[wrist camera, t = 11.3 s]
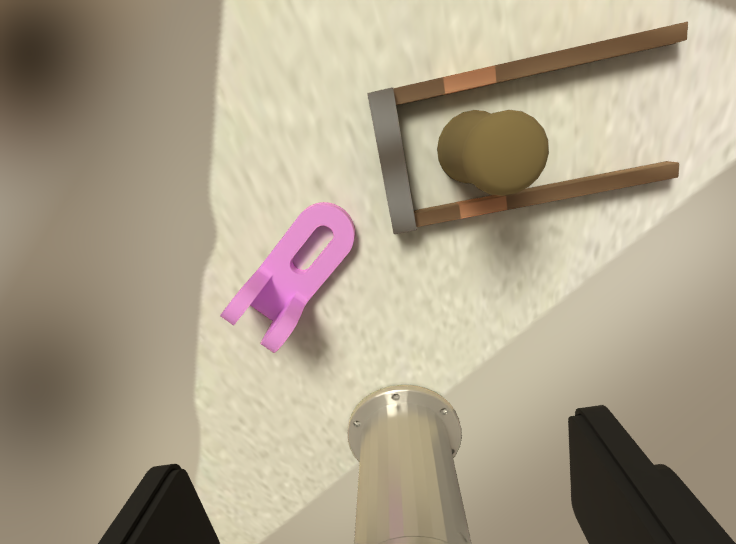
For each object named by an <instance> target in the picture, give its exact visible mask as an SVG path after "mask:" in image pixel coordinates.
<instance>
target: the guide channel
mask: <svg viewBox="0 0 736 544" xmlns="http://www.w3.org/2000/svg"><path fill="white" fill-rule="evenodd" d="M687 30H688V22H684V23H679V24H675V25H671V26H666V27H662V28H657V29H653V30H649V31H644V32H640V33H635V34H631V35H627V36H622V37H618V38H613V39H609V40H605V41H600V42H596V43H591V44H587V45H583V46H578V47H574V48H570V49H565V50H561V51H556V52H552V53H548V54H543V55H539V56H534V57H530V58H526V59H521V60H517V61H512V62H508V63H504V64H499V65H495V66H490V67H486V68H482V69H477V70H473V71H468V72H464V73H460V74H455V75H451V76H446V77H442V78H438V79H433V80H429V81H424V82H420V83H416V84H411V85H407V86H402V87H398V88H394V89H393V88H388V89H384V90H379V91H375V92H371V93H367V94H368V99H369V104H370V110H371V115H372V120H373V126H374V131H375V136H376V142H377V147H378V152H379V158H380V163H381V169H382V174H383V179H384V185H385V190H386V195H387V201H388V206H389V211H390V217H391V222H392V227H393V233H394V234H398V233H403V232H409V231H414V230H417V229H416V227H420V226H425V225H430V224H435V223H441V222H446V221H451V220H456V219H462V218H467V217H472V216H478V215H483V214H488V213H493V212H499V211H504V210H509V209H514V208H520V207H525V206H530V205H535V204H541V203H546V202H551V201H556V200H562V199H567V198H572V197H577V196H583V195H588V194H593V193H598V192H604V191H609V190H614V189H620V188H625V187H630V186H635V185H641V184H646V183H651V182H656V181H662V180H667V179H672V178H677V177H678V175H679V163H678V162H669V161H666V162H660V163H655V164H650V165H645V166H640V167H635V168H630V169H624V170H619V171H614V172H609V173H604V174H599V175H594V176H588V177H583V178H578V179H573V180H568V181H563V182H558V183H552V184H547V185H542V186H537V187H532V188H527V189H523V190H522V191H520V192H518V193H515V194H509V195H504V196H499V195H491V196H486V197H481V198H475V199H470V200H465V201H460V202H455V203H450V204H445V205H439V206H434V207H429V208H424V209H419V210H414V211H413V205H412V199H411V193H410V187H409V181H408V175H407V169H406V163H405V157H404V151H403V145H402V139H401V133H400V127H399V121H398V115H397V109H396V106H397V105H401V104H406V103H410V102H415V101H419V100H424V99H428V98H433V97H437V96H442V95H446V94H451V93H455V92H460V91H464V90H469V89H473V88H478V87H482V86H487V85H491V84H496V83H500V82H505V81H509V80H514V79H518V78H523V77H527V76H532V75H536V74H541V73H545V72H550V71H554V70H558V69H563V68H567V67H572V66H576V65H581V64H585V63H590V62H594V61H599V60H603V59H608V58H612V57H617V56H621V55H626V54H630V53H635V52H639V51H644V50H648V49H653V48H657V47H662V46H666V45H671V44H675V43H678V42H681V41H685V40H687Z"/></svg>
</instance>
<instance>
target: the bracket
mask: <svg viewBox="0 0 736 544" xmlns="http://www.w3.org/2000/svg"><path fill="white" fill-rule="evenodd" d="M319 226H327V227H329V228H330V229H331V230H332V231H333V234H334V237H333V239H332V240H331V241H330V243H329V244H328V245H327V246H326V248H325V249H324V250H323V251H322V253H321V254H320V255H319V256H318V257H317V259H316V260H315V261H314V262H313V264H312V265H311V266H310V267H309V268H308V269H306V270H300V269H298V268H296V267H295V266H294V264H293V257H294V255H295V254H296V253H297V252H298V250H299V249H300V248H301V247H302V245H303V244H304V243H305V241H306V240H307V239H308V238H309V236H310V235H311V234H312V233H313V231H314V230H315V229H316V228H317V227H319ZM354 237H355V228H354V224H353V221H352V219H351V217H350V216H349V214H348V213H347V212H346V211H345V210H344V209H342V208H341V207H339V206H337V205H335V204H332V203H326V202H322V203H316V204H313V205H311V206H309V207H308V208H306V209H305V210H304V211H303V212H302V213H301V214H300V215H299V216H298V218H297V219H296V220H295V222H294V223H293V224H292V226H291V227H290V228H289V229H288V231H287V232H286V233H285V235H284V236H283V237H282V239H281V240H280V241H279V243H278V244H277V245H276V246H275V248H274V249H273V250H272V252H271V253H270V254H269V256H268V257H267V258H266V260H265V261H264V262H263V263H262V265H261V266H260V267H259V269H258V270H257V271H256V272H255V273H254V274H253V275H252V277H251V278H250V279H249V280H248V281H247V282H246V283H245V284H244V286H243V287H242V288H241V289H240V290H239V292H238V293H237V294H236V295H235V297H234V298H233V299H232V300H231V302H230V303H229V304H228V306H227V307H226V308H225V310H224V311H223V312H222V314H221V315H220V316H221V317H222V318H224V319H225V320H227V321H228V322H229V323H231V324H232V325H235V323H236V322H237V321H238V320H239V318H240V317H241V316H242V314H243V313H244V312H245V311H246V309H247V308H248V307H249V305H250V306H252V307H253V308H255V309H256V310H258V311H259V312H260V313H262V314H263V315H265V316H266V317H267V318H269V319H270V320H272V321H273V322H272V323H271V325H270V327H269V329H268V330H267V332H266V334H265V336H264V338H263V339H262V341H261V343H260V344H261V345H263V346H264V347H266V348H267V349H269V350H270V351H272V352H273V353H275V352H276V351H277V350H278V349H279V348H280V347H281V346H282V345H283V343H284V342H285V341H286V340H287V338H288V337H289V336H290V334H291V333H292V331H293V330H294V328H295V326H296V325H297V323H298V321H299V319H300V316H301V314H302V312H303V309H304V307H305V305H306V303H307V302H308V301H309V299H310V298H311V297H312V296H313V295H314V293H315V292H316V291H317V290H318V289H319V287H320V286H321V285H322V284H323V283H324V282H325V280H326V279H327V278H328V277H329V276H330V274H331V273H332V272H333V271H334V270H335V268H336V267H337V266H338V265H339V264H340V263H341V261H342V260H343V259H344V258H345V257H346V255H347V254H348V253H349V252H350V250H351V248H352V245H353V242H354Z"/></svg>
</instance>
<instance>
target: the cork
mask: <svg viewBox="0 0 736 544" xmlns="http://www.w3.org/2000/svg"><path fill="white" fill-rule="evenodd" d="M437 152H438V160H439V162H440V164H441V166H442V169H443V170H444V171H445V172H446V173H447V174H448V175H449V176H450V177H451V178H452V179H454V180H457V181H459V182H462V183H470V184H474V185H475V186H476V187H477V188H478V189H480V190H482V191H484V192H486V193H488V194H491V195H499V196H504V195H509V194H515V193H518V192H520V191H522V190H523V189H525V188H527V187H529V186H530V185H531V184H532V183H533V182H534V181H535V180H536V179H538V177H539V176H540V174H541V172H542V171H543V169H544V168H545V165H546V162H547V158H548V154H549V148H548V139H547V136H546V133H545V131H544V128H543V127H542V126H541V125H540V124H539V123H538V122H537V120H536V119H535V118H533V117H531V116H530V115H528V114H526V113H524V112H522V111H514V110H506V111H501V112H496V113H492V114H490V113H488V112H486V111H479V110H472V111H467V112H463V113H461V114H459V115H458V116H456V117H454V118H453V119H452V120H451V121H450V122H449V123H448V124H447V125H446V126H445V127H444V129H443V131H442V133H441V135H440V137H439V142H438V147H437Z"/></svg>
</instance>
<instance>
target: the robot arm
mask: <svg viewBox="0 0 736 544" xmlns="http://www.w3.org/2000/svg"><path fill="white" fill-rule="evenodd" d="M568 420H569V421H568V423H569V424H568V425H569V450H570V475H571V476H570V477H571V501H572V507H573V510H574V513H575V516H576V519H577V520H578V523H579V525H580V527H581V529H582V531H583V533H584V535H585V537H586V539H587V541H588V543H589V544H736V543H735V542H734V541H733V540H732V539H731V538H730V537H729V535H728V534H727V533H726V532H725V530H724V529H723V528H722V527H721V526H720V525H719V523H718V522H717V521H716V520H715V519H714V518H713V516H712V515H711V514H710V513H709V512H708V511H707V509H706V508H705V507H704V506H703V505H702V504H701V503H700V501H699V500H698V499H697V498H696V497H695V495H694V494H693V493H692V492H691V491H690V490H689V488H688V487H687V486H686V485H685V484H684V483H683V481H682V480H681V479H680V478H679V477H678V476H677V474H675V472H673V471H672V470H671V469H670V468H669V467H667V466H666V465H663V464H658V465H653V463H652V462H651V461H650V460H649V459H648V457H647V456H646V455H645V454H644V452H643V451H642V450H641V449H640V448H639V446H638V445H637V444H636V443H635V441H634V440H633V439H632V438H631V436H630V435H629V434H628V433H627V431H626V430H625V429H624V428H623V426H622V425H621V424H620V423H619V422H618V420H617V419H616V418H615V417H614V415H613V414H612V413H611V412H610V410H609V409H608V408H607V407H606V406H604V405H599V406H592V407H585V408H578V409H576V411H575V416H570V417H569V419H568ZM461 433H462V432H461V426H460V422H459V418H458V416H457V414H456V411H455V410H454V409H453V407H452V406H451V405H450V403H449V402H447V400H445V399H444V398H443V397H442V396H440V395H439V394H437V393H435V392H434V391H431V390H429V389H426V388H423V387H418V386H414V385H397V386H390V387H386V388H383V389H380V390H378V391H375V392H373V393H371V394H370V395H368V396H367V397H366V398H364V399H363V400H362V401H361V402H360V403H359V404H358V405H357V406H356V408H355V409H354V411H353V413H352V414H351V417H350V420H349V426H348V443H349V446H350V449H351V451H352V453H353V455H354V457H355V458H356V459H357V460H358V461H359V463H360V464H359V479H358V494H357V508H356V523H355V538H354V544H471V540H470V534H469V530H468V525H467V521H466V516H465V511H464V507H463V502H462V497H461V493H460V488H459V484H458V479H457V474H456V470H455V465H454V460H453V458H454V457H455V455H456V454H457V451H458V450H459V447H460V444H461V439H462V435H461ZM98 544H220V542H219V540H218V537H217V535H216V533H215V531H214V529H213V527H212V525H211V522H210V520H209V518H208V516H207V514H206V512H205V510H204V508H203V505H202V503H201V501H200V499H199V497H198V495H197V493H196V491H195V488H194V486H193V484H192V482H191V480H190V478H189V476H188V473H187V472H186V470H184V469H181V467H180V466H179V465H177V464H170V465H162V466H156V467H152V468H151V469H150V470H149V471H148V472H147V473H146V474H145V476H144V477H143V479H142V480H141V482H140V483H139V485H138V486H137V488H136V489H135V490H134V492H133V493H132V495H131V496H130V498H129V499H128V501H127V502H126V504H125V505H124V506H123V508H122V509H121V511H120V513H119V514H118V515H117V517H116V518H115V520H114V521H113V522H112V524H111V525H110V527H109V528H108V530H107V531H106V533H105V534H104V536H103V537H102V539H101V540H100V542H99V543H98Z"/></svg>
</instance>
